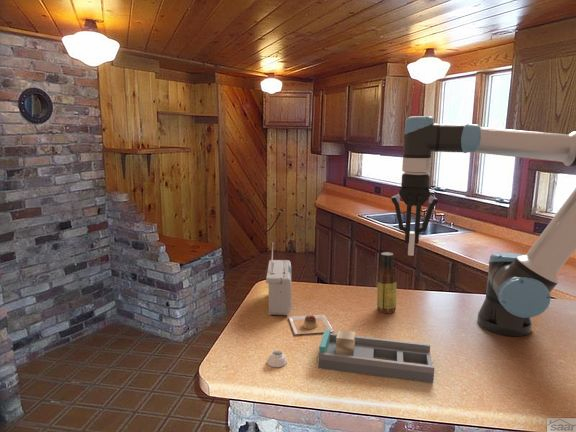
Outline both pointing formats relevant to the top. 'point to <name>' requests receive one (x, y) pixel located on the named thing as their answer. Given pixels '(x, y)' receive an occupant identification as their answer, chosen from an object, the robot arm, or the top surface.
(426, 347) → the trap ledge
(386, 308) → the sauce bottle
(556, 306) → the top surface
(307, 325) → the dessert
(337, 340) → the maple block
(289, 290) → the stereo radio cassette player
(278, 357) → the white jar
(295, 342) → the top surface
